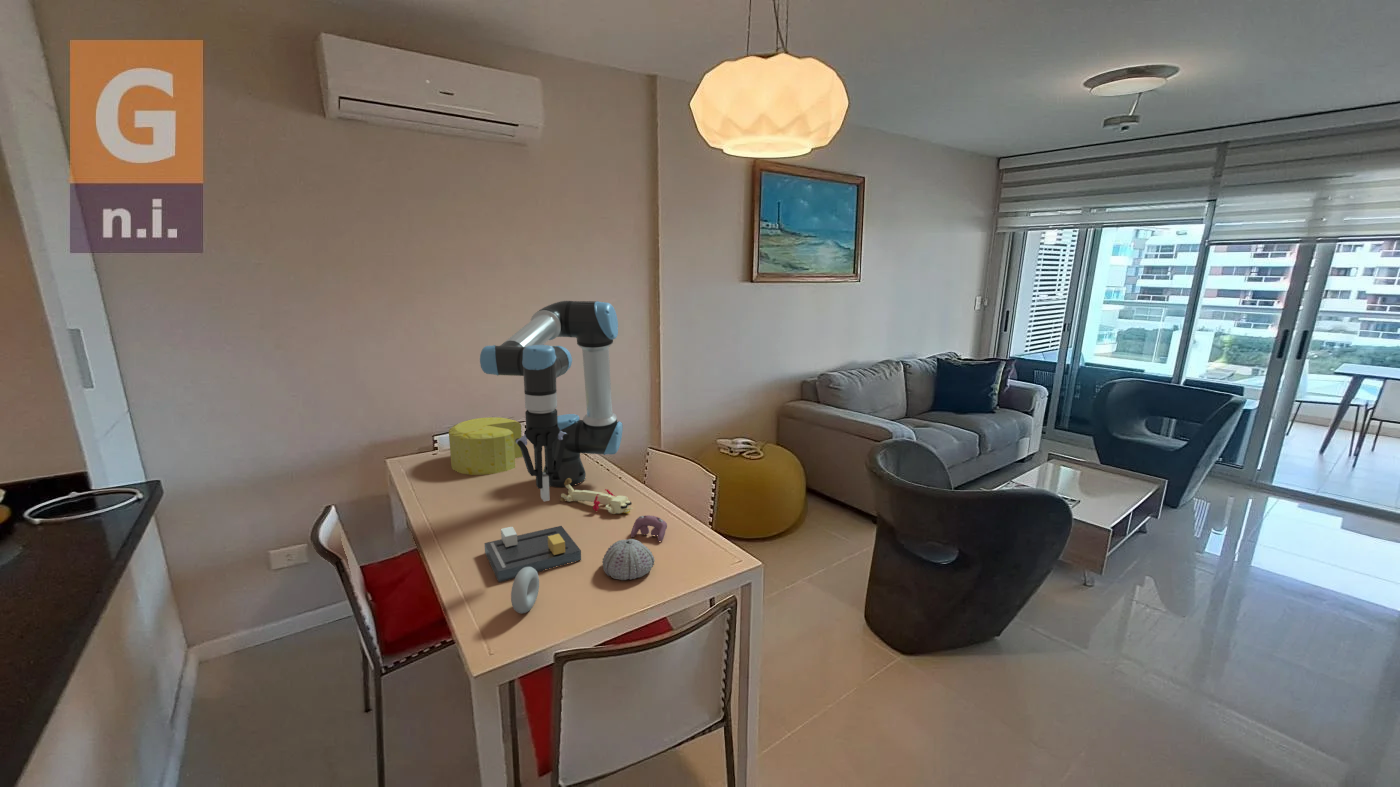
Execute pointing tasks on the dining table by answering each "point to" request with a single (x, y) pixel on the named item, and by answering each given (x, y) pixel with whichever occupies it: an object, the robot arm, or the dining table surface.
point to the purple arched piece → (647, 521)
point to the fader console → (529, 553)
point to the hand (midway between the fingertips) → (545, 498)
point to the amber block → (556, 544)
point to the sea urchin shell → (627, 560)
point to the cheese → (484, 445)
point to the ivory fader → (509, 536)
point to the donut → (525, 590)
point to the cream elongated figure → (597, 499)
